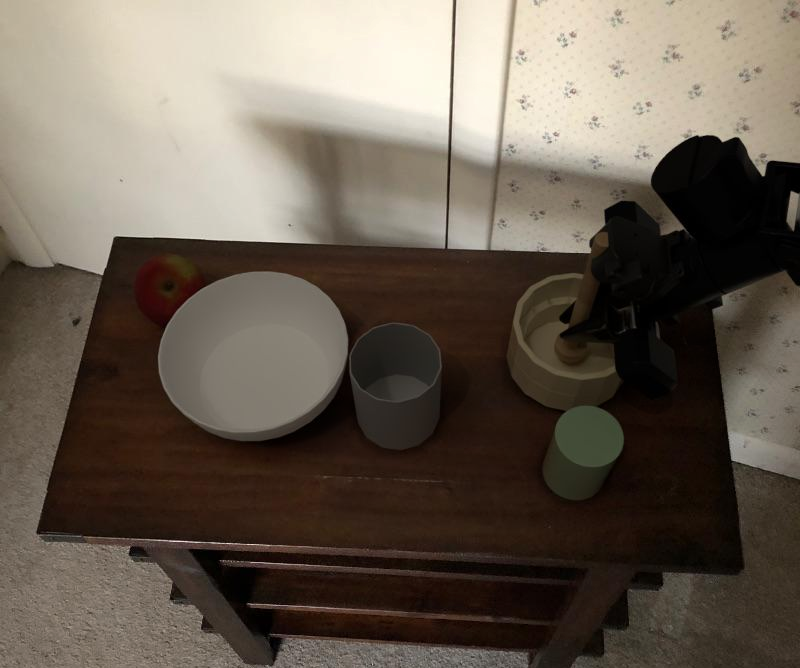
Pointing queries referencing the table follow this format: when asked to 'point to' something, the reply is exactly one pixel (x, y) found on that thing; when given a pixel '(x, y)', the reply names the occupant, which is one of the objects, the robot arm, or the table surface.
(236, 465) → the table surface
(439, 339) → the table surface
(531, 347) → the mixing bowl
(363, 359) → the cup
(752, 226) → the robot arm
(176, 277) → the apple
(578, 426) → the green cylinder pedestal
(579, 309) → the stirring stick
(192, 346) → the bowl
